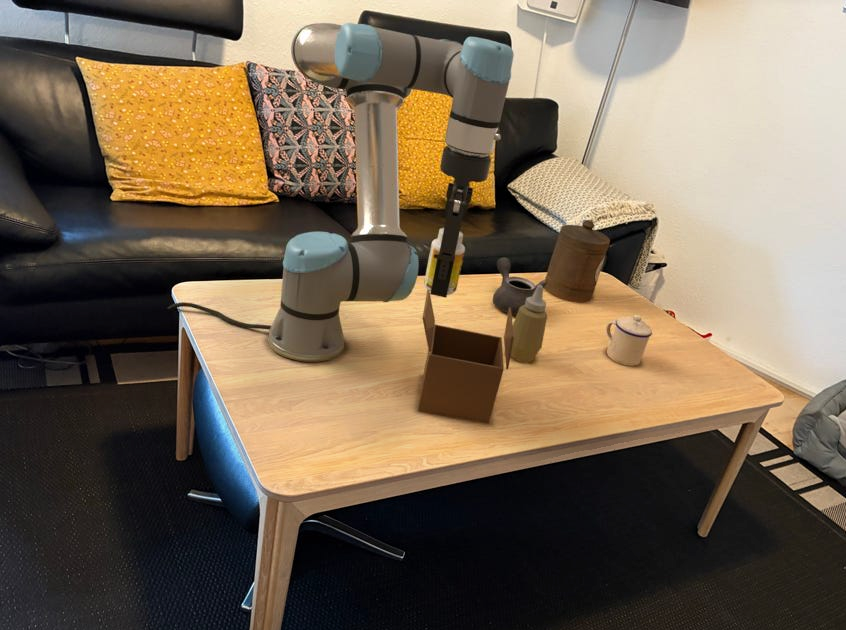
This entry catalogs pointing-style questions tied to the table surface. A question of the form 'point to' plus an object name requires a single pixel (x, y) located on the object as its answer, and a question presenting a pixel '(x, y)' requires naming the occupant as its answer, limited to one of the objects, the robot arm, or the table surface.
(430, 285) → the supplement bottle
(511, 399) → the table surface
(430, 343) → the flap
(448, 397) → the carton
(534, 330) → the squeeze bottle
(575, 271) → the wooden container
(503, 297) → the teapot
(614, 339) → the teacup with lid
